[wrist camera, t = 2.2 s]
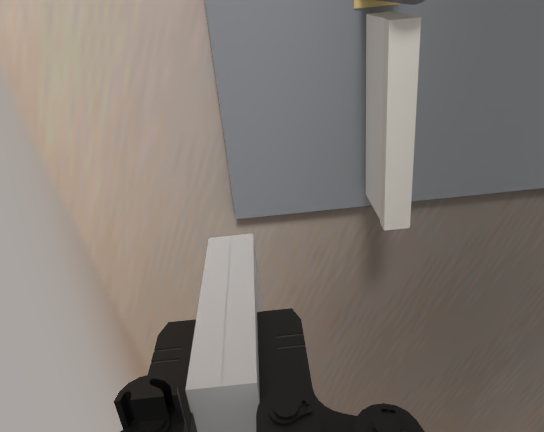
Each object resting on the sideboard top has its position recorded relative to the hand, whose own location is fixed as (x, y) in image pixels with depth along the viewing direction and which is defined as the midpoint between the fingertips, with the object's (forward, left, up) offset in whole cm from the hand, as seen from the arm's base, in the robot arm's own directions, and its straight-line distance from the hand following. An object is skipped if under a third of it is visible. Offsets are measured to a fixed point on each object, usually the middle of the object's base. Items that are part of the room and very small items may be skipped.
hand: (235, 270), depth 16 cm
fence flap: (-2, +8, -13) cm, 15 cm away
